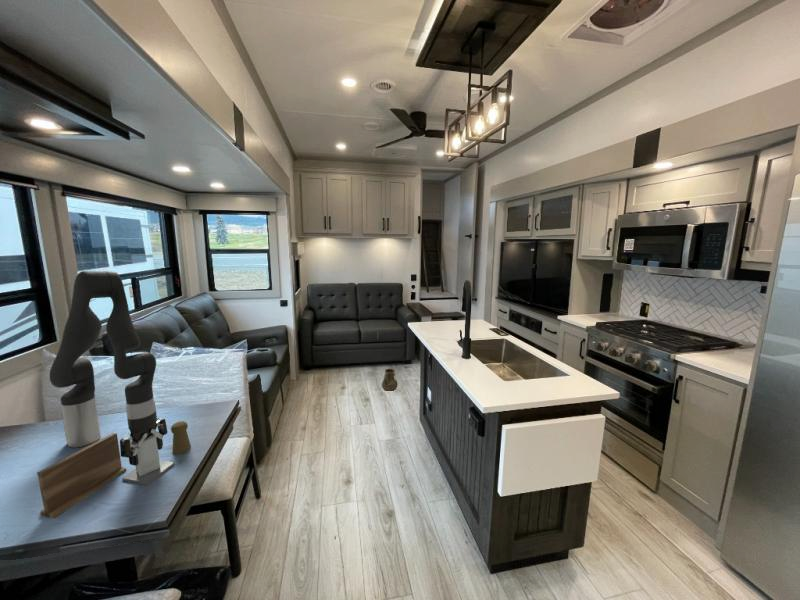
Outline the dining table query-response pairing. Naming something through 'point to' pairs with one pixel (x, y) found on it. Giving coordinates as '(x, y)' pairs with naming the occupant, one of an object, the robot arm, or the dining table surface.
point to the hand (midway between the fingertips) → (147, 456)
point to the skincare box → (147, 456)
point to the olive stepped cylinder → (180, 438)
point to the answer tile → (148, 474)
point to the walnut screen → (79, 475)
